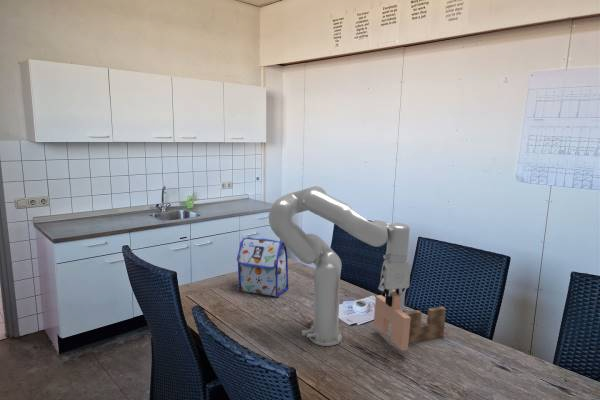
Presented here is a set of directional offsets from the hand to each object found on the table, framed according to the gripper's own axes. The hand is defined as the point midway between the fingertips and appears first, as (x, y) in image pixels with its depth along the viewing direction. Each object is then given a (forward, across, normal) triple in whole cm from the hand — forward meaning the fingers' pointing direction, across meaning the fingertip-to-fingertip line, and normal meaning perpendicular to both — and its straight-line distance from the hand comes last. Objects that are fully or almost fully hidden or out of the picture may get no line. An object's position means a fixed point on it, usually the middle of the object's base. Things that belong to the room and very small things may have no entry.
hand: (392, 304), depth 150 cm
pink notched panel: (+13, 0, 0) cm, 13 cm away
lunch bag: (+18, -33, +65) cm, 75 cm away
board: (+16, +15, 0) cm, 22 cm away
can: (+16, +19, +26) cm, 36 cm away
